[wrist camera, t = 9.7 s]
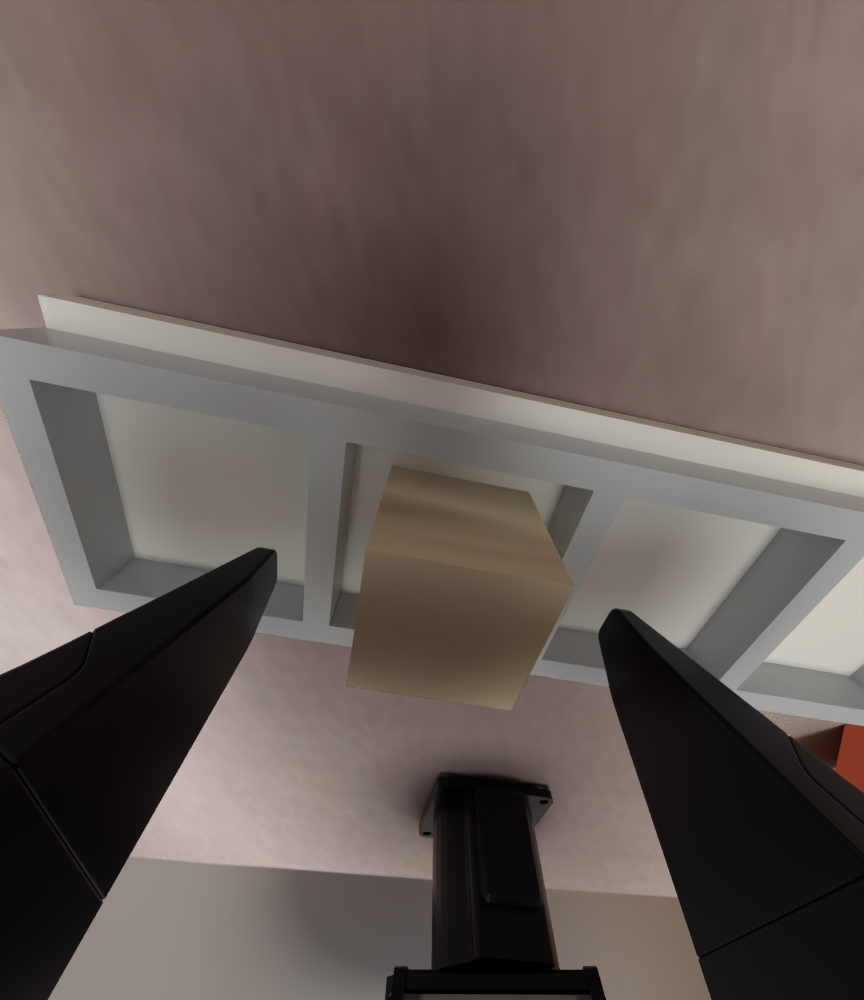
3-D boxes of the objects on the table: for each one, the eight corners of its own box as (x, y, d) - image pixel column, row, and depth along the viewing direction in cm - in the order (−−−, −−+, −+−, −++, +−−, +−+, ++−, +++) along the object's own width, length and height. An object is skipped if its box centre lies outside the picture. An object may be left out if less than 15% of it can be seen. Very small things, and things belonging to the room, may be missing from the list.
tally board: (817, 679, 15) (880, 741, 13) (140, 569, 13) (80, 621, 11) (1017, 499, 11) (1160, 545, 9) (76, 296, 9) (-41, 291, 7)
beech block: (490, 594, 12) (511, 710, 9) (374, 574, 12) (346, 686, 8) (528, 491, 10) (574, 586, 7) (392, 465, 10) (365, 549, 6)
